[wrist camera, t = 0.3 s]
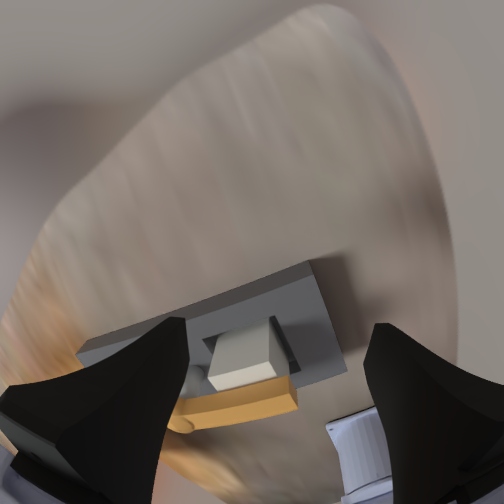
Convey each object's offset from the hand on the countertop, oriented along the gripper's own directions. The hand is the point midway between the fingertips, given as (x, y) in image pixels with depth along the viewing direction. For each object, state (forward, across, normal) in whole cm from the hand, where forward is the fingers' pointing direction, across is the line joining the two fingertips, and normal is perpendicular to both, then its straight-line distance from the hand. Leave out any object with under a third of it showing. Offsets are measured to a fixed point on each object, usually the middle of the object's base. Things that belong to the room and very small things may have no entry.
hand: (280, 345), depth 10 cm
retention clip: (+4, +3, +8) cm, 9 cm away
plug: (+9, +1, +7) cm, 11 cm away
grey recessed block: (+10, +6, +9) cm, 14 cm away
